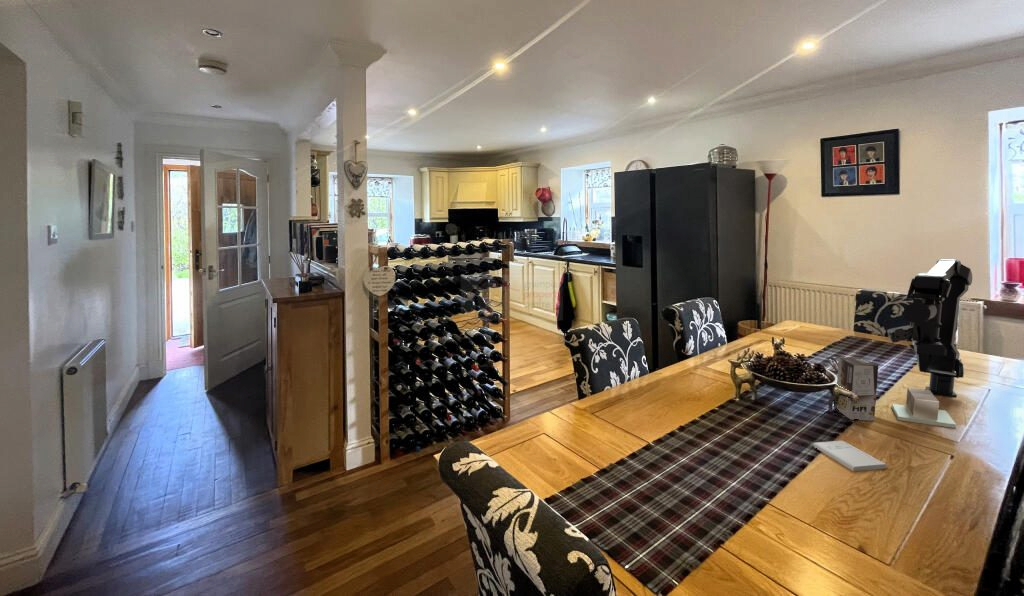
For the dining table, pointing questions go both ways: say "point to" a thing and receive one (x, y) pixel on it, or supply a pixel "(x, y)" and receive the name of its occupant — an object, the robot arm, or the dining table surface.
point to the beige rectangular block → (922, 403)
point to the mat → (906, 415)
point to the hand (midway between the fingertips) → (922, 371)
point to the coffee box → (857, 387)
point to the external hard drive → (849, 456)
